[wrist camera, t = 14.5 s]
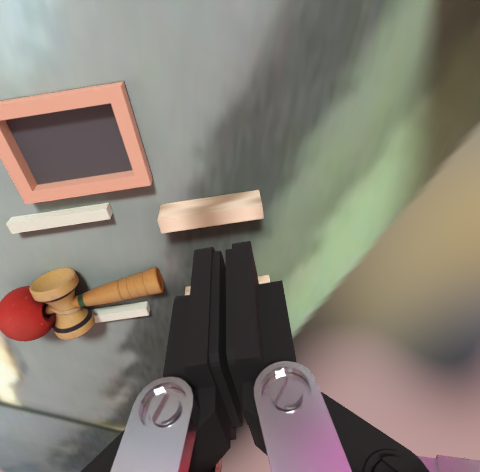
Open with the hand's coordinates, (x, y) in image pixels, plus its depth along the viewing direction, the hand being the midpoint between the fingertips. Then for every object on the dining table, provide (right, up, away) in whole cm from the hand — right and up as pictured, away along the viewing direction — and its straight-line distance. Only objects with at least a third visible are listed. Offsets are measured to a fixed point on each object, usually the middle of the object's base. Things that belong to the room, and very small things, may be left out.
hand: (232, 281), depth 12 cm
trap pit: (-15, +10, +22) cm, 29 cm away
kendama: (-18, -4, +33) cm, 37 cm away
